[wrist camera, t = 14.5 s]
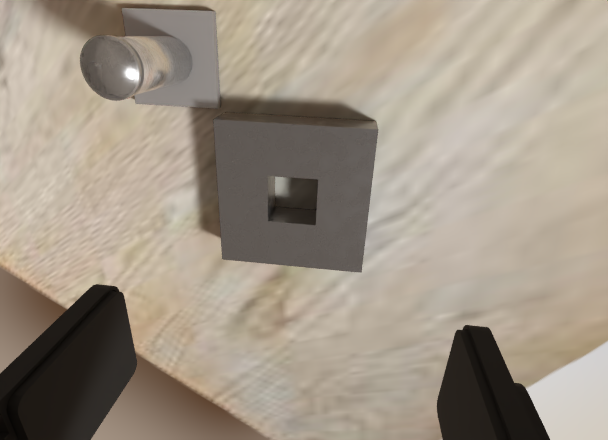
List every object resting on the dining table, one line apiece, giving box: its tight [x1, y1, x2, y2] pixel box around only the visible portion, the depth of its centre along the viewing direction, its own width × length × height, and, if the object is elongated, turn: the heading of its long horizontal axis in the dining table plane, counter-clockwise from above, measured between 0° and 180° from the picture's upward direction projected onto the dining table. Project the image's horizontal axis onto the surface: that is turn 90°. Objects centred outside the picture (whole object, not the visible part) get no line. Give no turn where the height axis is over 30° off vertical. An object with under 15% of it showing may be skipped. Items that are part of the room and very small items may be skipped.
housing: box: [213, 112, 378, 272], centre depth 43 cm, size 16×16×4 cm
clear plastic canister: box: [80, 35, 193, 101], centre depth 34 cm, size 5×5×11 cm
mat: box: [122, 8, 221, 109], centre depth 40 cm, size 9×9×1 cm
